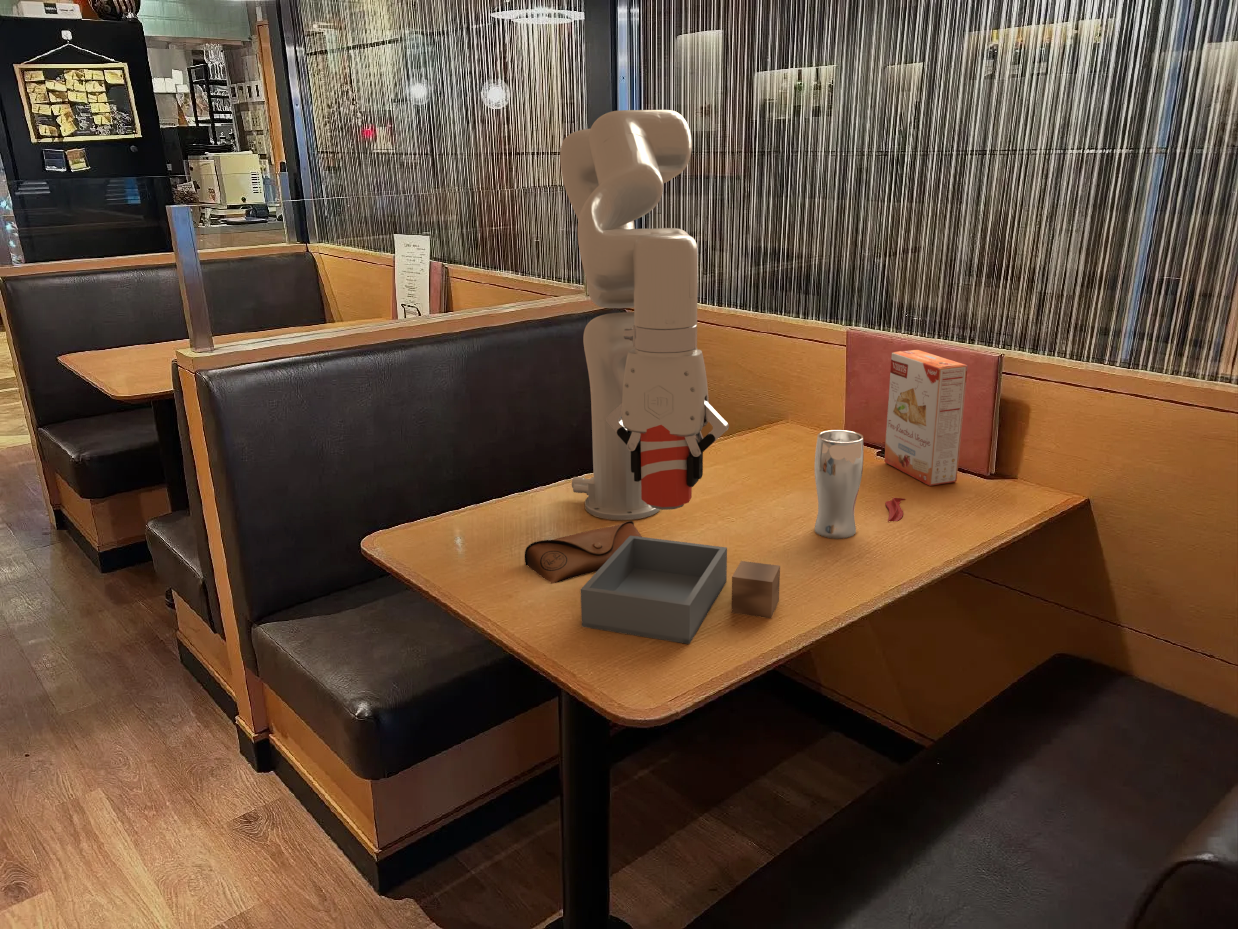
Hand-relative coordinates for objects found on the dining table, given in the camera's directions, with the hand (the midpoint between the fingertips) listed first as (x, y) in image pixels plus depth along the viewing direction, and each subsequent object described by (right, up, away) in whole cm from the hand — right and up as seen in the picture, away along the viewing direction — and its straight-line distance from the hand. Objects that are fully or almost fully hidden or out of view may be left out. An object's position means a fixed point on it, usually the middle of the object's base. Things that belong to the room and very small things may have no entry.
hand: (666, 479), depth 116 cm
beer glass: (+27, -8, +23) cm, 36 cm away
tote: (-1, -16, +1) cm, 16 cm away
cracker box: (+47, 0, +48) cm, 67 cm away
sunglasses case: (-10, -12, +15) cm, 21 cm away
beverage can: (0, -3, +1) cm, 3 cm away
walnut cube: (+11, -16, 0) cm, 20 cm away
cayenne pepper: (+38, -6, +31) cm, 49 cm away
